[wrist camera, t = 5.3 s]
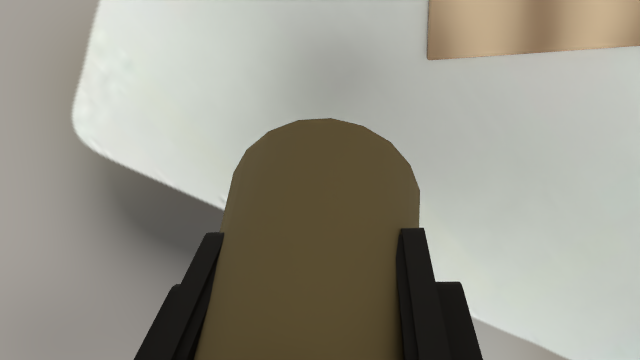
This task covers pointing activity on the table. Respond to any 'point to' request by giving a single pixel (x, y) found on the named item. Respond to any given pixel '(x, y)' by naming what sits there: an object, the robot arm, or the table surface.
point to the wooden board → (529, 26)
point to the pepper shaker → (312, 248)
